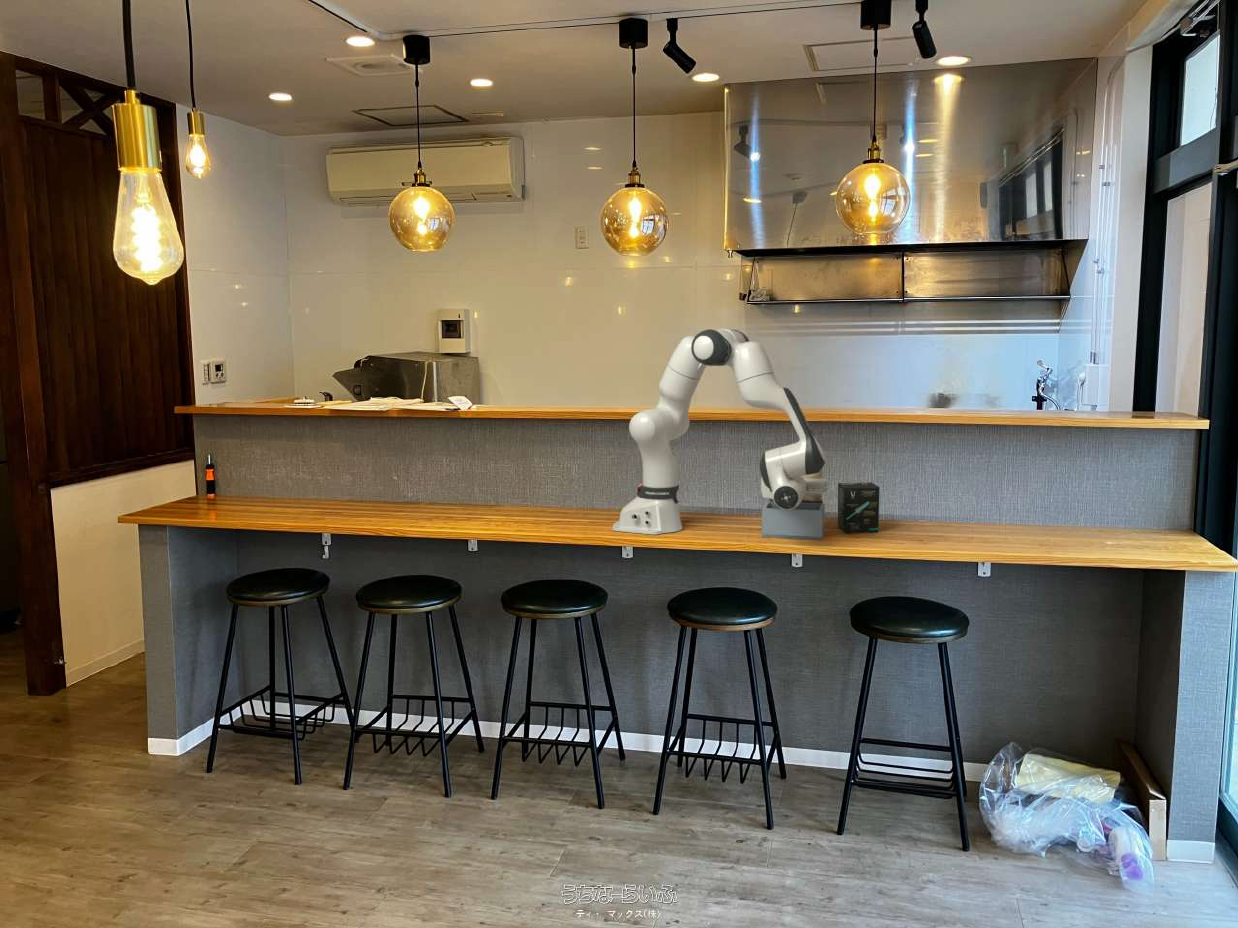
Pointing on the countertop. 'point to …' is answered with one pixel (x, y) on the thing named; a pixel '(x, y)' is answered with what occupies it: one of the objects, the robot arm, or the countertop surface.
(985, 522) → the countertop surface
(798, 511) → the crate
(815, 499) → the lid flap
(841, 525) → the tampon box
